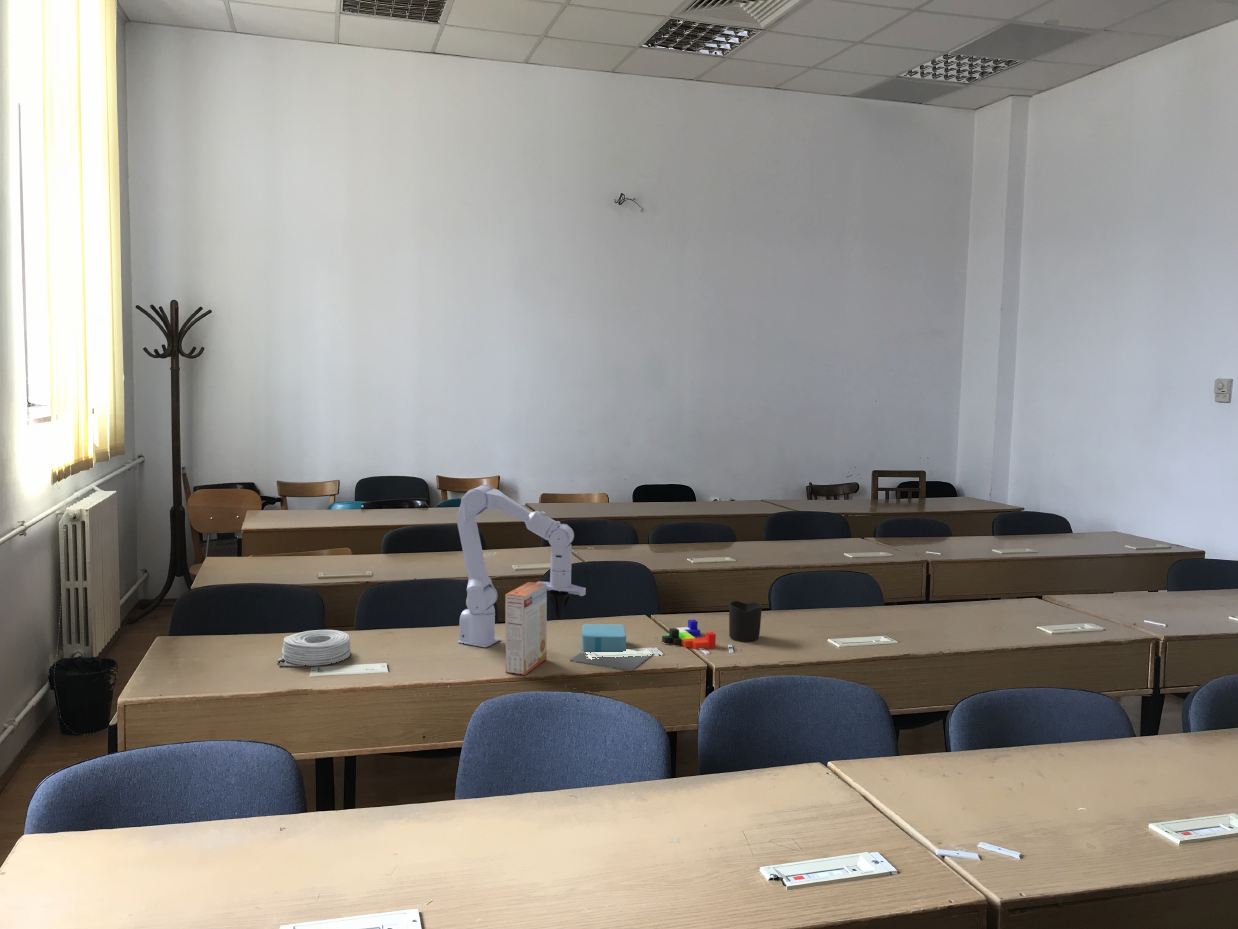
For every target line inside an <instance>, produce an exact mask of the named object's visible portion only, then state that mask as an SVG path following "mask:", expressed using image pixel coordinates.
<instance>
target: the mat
mask: <svg viewBox="0 0 1238 929" xmlns="http://www.w3.org/2000/svg"><path fill="white" fill-rule="evenodd" d="M590 653H591V652H590ZM585 655H588V654H586V653H584V652H583V653H581V652H579V653H577V654H576V655H574V656H573V657H571V658H570V659H569V660H570V661H569V662H573V661H576V662H575V663H579V662H583V663H582V664H585V663H587V664H586V665H591V664H593V665H592V666H597V665H598V666H597V667H603V666H605V667H604V668H609V667H612V668H611V669H615V668H618V669H617V670H621V669H623V670H622V671H628V672H633V671H635V670H636V669H637V668H638V667H639V666H640V664H641V663H642V662H643V663H644V662H645V660H646V659H647V658H648V659H650V658H651V657H650V656H648V655H647V656H642V657H641V656H635V657H633V656H628V657H624V656H623V657H616V658H615V657H603V656H602V657H597V658H599V659H597V658H596V657H592V658H595V659H592V660H591V659H586V658H588V657H586V656H585ZM650 655H651V654H650ZM649 657H650V658H649ZM648 659H647V660H648ZM647 660H646V661H647ZM643 663H642V664H643ZM642 664H641V665H642ZM637 666H638V667H637ZM636 667H637V668H636Z"/></svg>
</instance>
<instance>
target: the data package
mask: <svg viewBox="0 0 1238 929" xmlns="http://www.w3.org/2000/svg"><path fill="white" fill-rule="evenodd" d="M581 647H582V648H581V650H582V651H584V652H623V651H626V648H627V633H626V627H625V625H624V624H620V623H619V624H617V623H616V624H613V623H612V624H611V623H610V624H609V623H607V624H606V623H603V624H602V623H585V624H582V625H581Z"/></svg>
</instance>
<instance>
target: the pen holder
mask: <svg viewBox="0 0 1238 929" xmlns="http://www.w3.org/2000/svg"><path fill="white" fill-rule="evenodd" d="M728 609H729V610H728V614H729V615H728V622H729V623H728V628H729V630H728V631H729V632H728V633H729V637H730V639H731V640H733V641H736V642H741V643H743V642H744V643H751V642H756V641H758V640H759V638H760V632H761V625H762V624H761V622H762V609H763V605H762V603H760V602H759V601H758V602H757V601H753V602H747V603H746V602H742V601H739V600H734V601H733V600H732V601H730V602H729V606H728Z"/></svg>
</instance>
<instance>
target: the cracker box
mask: <svg viewBox="0 0 1238 929" xmlns="http://www.w3.org/2000/svg"><path fill="white" fill-rule="evenodd" d="M547 591H548V590H547V584H544V583H536V582H535V581H528V582H526V583H523V584H522V585H521V586H519V587H516V588H515V589H513V590H511V591H509V592H508V593H505V595H504V601H505V602H504V603H505V604H504V612H505V613H504V614H505V615H504V616H505V618H504V619H505V620H504V622H505V624H504V625H505V637H504V638H505V673H507V674H512V673H515V674H514V675H520V674H521V675H520V676H526V675H527V674H528V673H530V672H532V671H533V670H534V669H535V668H536V667H538V666H540V664H541V663H543V662H545V660H547V653H548V652H547V640H548V639H547V637H548V635H547V634H548V632H547V631H548V630H547V628H548V627H547V626H548V622H547V620H548V619H547V617H548V616H547V608H548V606H547V605H548V604H547V602H548V598H547V597H548V596H547V595H548V594H547V593H548V592H547Z"/></svg>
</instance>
